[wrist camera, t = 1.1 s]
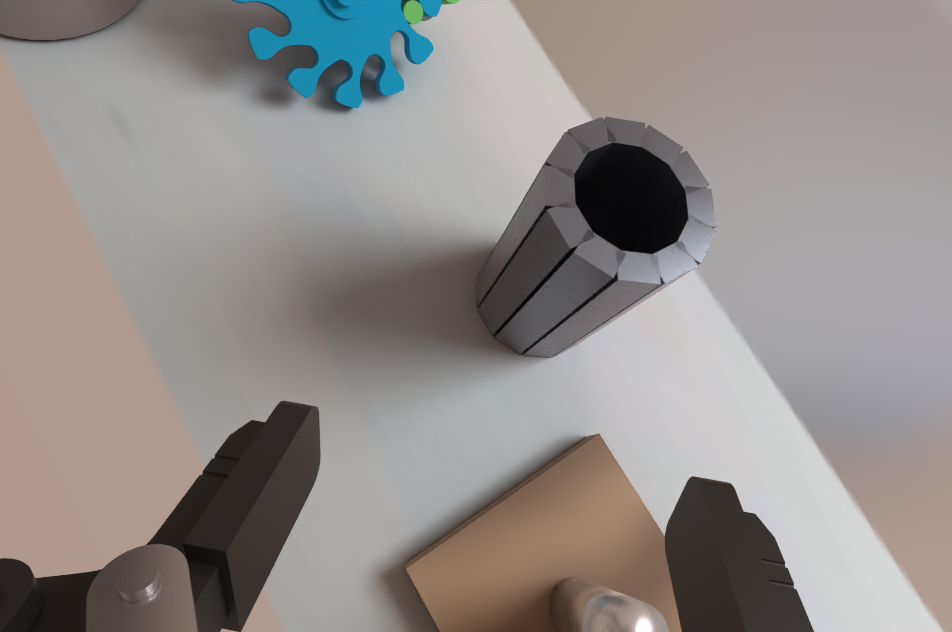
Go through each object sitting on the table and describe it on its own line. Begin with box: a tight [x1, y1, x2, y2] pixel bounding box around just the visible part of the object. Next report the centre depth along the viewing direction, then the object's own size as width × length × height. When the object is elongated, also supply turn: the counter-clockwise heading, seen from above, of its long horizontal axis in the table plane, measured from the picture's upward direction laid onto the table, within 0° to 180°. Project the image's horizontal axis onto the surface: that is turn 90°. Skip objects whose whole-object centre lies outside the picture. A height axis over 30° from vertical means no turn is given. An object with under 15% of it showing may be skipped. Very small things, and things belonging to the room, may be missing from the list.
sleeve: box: [477, 117, 716, 357], centre depth 22 cm, size 6×6×10 cm
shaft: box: [549, 577, 669, 632], centre depth 19 cm, size 2×2×5 cm
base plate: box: [403, 434, 682, 632], centre depth 22 cm, size 10×10×1 cm
